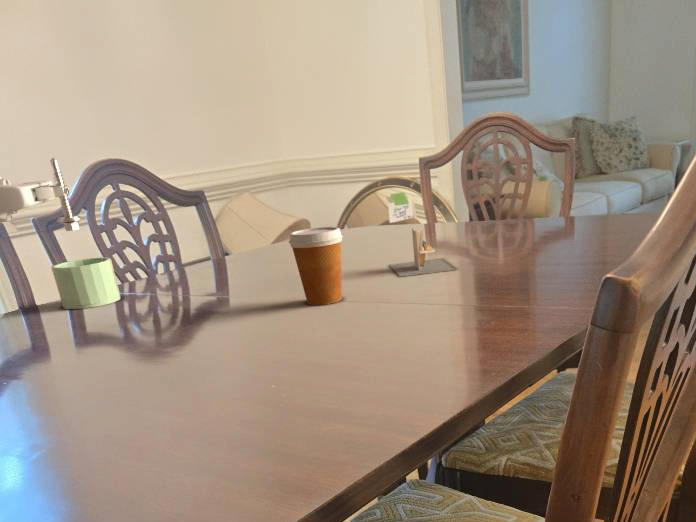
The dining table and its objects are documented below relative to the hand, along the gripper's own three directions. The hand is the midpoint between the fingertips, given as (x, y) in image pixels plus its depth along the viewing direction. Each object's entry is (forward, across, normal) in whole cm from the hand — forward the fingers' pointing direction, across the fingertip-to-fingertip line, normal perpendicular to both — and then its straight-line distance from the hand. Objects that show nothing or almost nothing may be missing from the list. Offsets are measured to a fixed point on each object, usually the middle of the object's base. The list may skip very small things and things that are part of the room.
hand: (66, 190), depth 150 cm
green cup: (-1, -1, -22) cm, 22 cm away
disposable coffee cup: (+46, +28, -21) cm, 58 cm away
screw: (-1, 0, -7) cm, 7 cm away
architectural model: (+68, +6, -21) cm, 71 cm away
